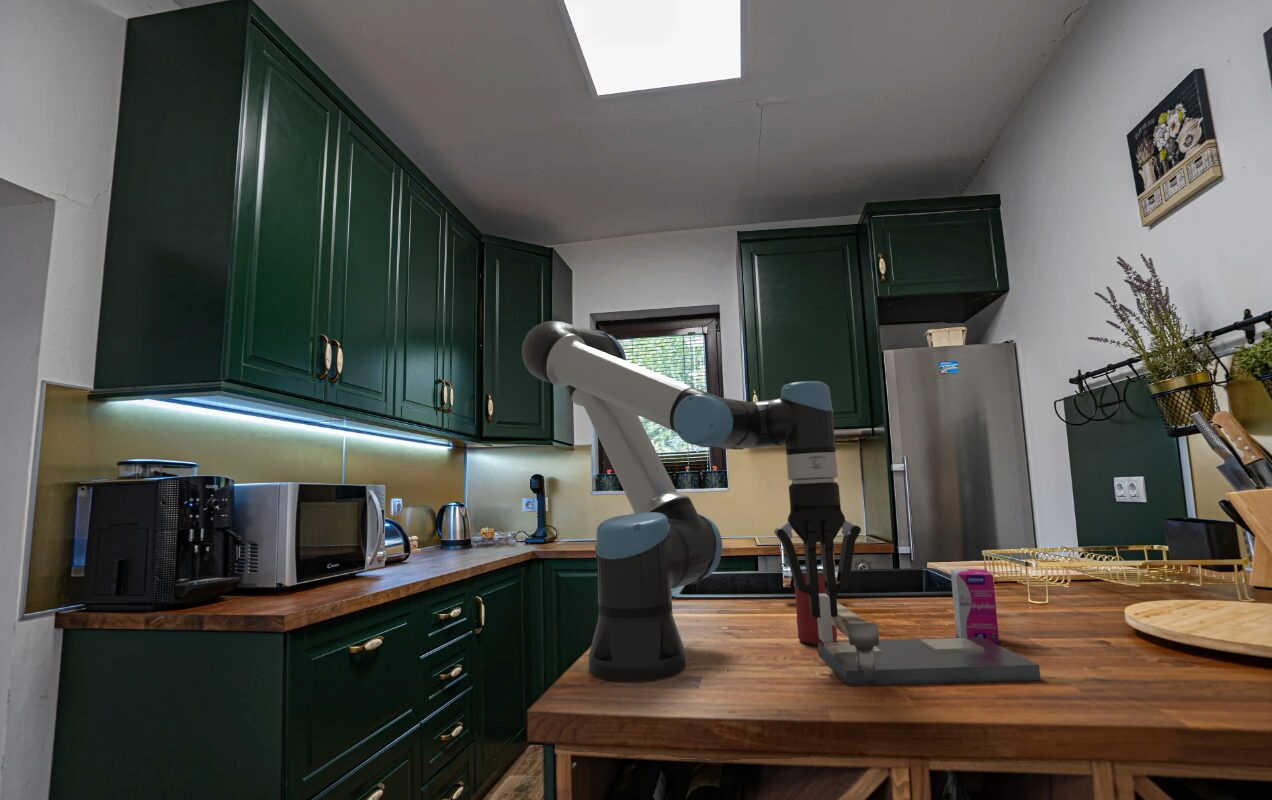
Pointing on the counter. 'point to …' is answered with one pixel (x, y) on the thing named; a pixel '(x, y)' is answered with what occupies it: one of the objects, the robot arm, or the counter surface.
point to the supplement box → (974, 604)
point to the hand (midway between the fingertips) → (825, 639)
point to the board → (930, 662)
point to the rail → (855, 628)
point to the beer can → (809, 614)
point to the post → (866, 663)
